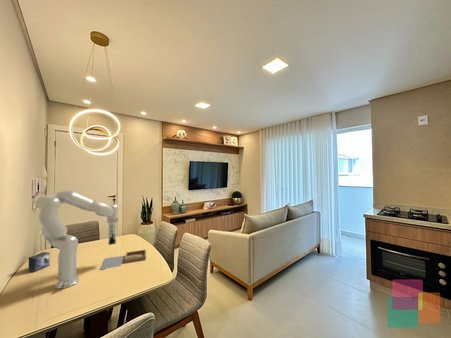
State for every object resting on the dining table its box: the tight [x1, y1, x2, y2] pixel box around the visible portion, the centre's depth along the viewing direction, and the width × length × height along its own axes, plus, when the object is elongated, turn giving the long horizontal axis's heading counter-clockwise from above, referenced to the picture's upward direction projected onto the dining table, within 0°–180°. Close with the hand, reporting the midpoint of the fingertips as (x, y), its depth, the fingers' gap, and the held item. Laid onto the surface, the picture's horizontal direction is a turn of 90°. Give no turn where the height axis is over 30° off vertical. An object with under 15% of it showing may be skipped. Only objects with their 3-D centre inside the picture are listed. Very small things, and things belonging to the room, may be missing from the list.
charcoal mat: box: [99, 255, 125, 271], centre depth 159 cm, size 20×14×1 cm
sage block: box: [108, 233, 118, 246], centre depth 159 cm, size 5×5×7 cm
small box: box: [27, 251, 51, 273], centre depth 150 cm, size 11×6×10 cm, turn 168°
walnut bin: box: [123, 249, 147, 264], centre depth 167 cm, size 16×16×3 cm
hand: (112, 242), depth 159 cm, fingers closed on sage block, 5 cm apart
